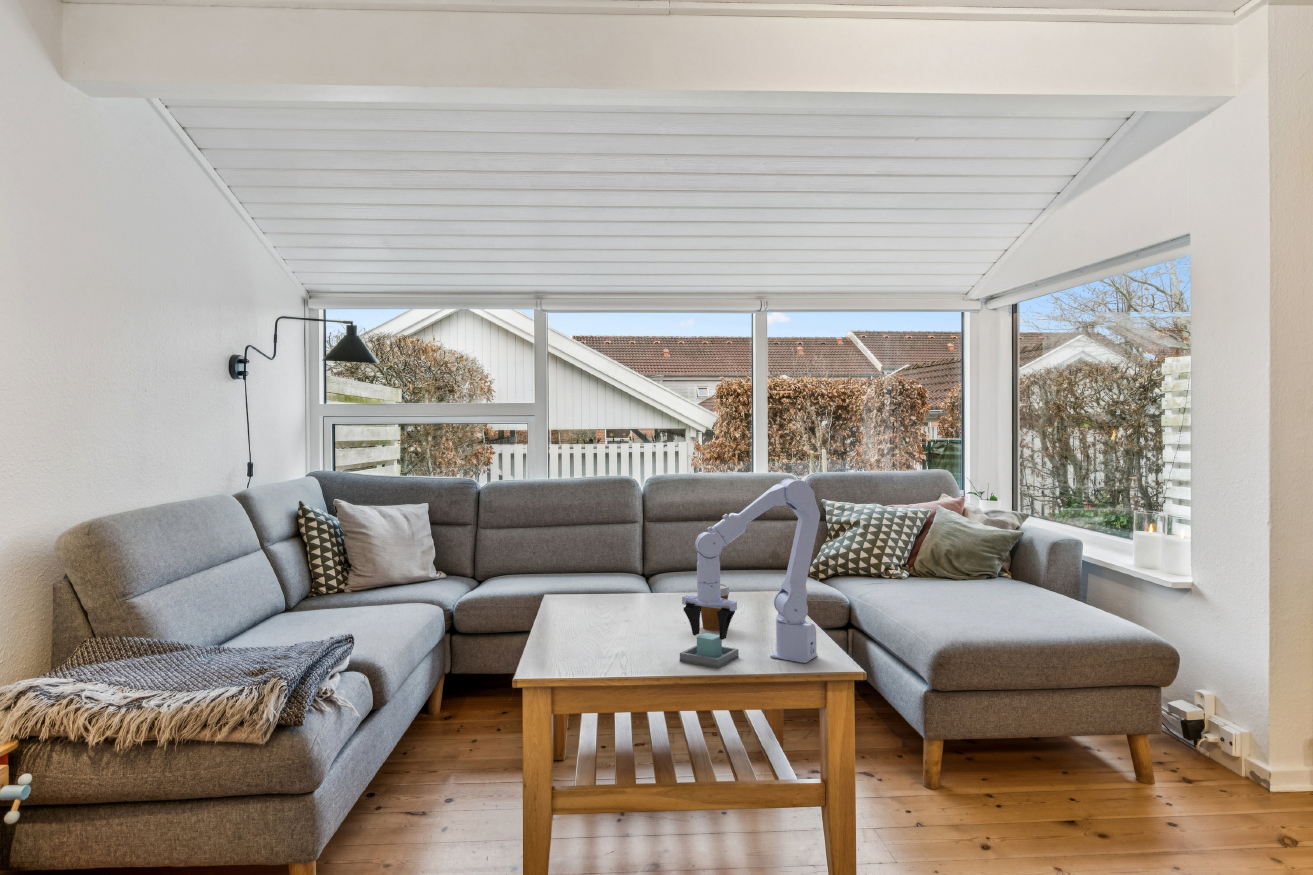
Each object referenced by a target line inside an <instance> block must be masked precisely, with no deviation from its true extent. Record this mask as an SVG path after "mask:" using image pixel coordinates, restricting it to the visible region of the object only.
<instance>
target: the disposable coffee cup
mask: <svg viewBox="0 0 1313 875" xmlns="http://www.w3.org/2000/svg"><path fill="white" fill-rule="evenodd" d="M730 592H731V590H730V587H729V584H725V583H720V597H721V598H722V599H726V600H729V594H730ZM720 610H721V609H719V608H712V607H704V606H702V607H701V613H700V618H701V622H702V624H701V625H702V628H703V629H704V630H706V629H707V631H719V621H718V616H717V611H720Z"/></svg>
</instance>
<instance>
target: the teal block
mask: <svg viewBox="0 0 1313 875" xmlns="http://www.w3.org/2000/svg"><path fill="white" fill-rule="evenodd" d="M722 643H723V640H721V639H720V636H719V634H714V633H707V632H705V633H703V634H701V635H698V636H697V637H696V645H697V655H700V656H705V657H710V658H718V657H720V656H722V645H723V644H722Z"/></svg>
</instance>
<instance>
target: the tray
mask: <svg viewBox="0 0 1313 875" xmlns="http://www.w3.org/2000/svg"><path fill="white" fill-rule="evenodd" d="M738 658H739V649H738V648H733V647H727V646H722V656H720V657H718V658H710V657H705V656H700V655H697V644H696V645H693V646H692V647H690V648H688V649H686V650H683V651H681V652H679V662H682V663H687V664H693V665H697V666H703V667H707V668H713V669H719V668H721V667H723V666H725V665H727V664H729V663H730V662H733V661H734V660H736V659H738Z"/></svg>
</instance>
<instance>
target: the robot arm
mask: <svg viewBox="0 0 1313 875" xmlns="http://www.w3.org/2000/svg"><path fill="white" fill-rule="evenodd" d="M815 496H816V495H815V491H814V490H813V488H812V487H811V486H810V485H809V484H808V483H807V482H806V481H804V480H800V479H794V478H790V477H788V478H785V479H783V480H781V481H780V482H779V483H776V484H774V485H772V486H771V487H770V488H768V489H767V490H766V491H765V492H764V493H762V494H761V495H760V496H759V497H758V498H756V499H755V500H753V501H752V502H751V503H750V504H749V505H747V506H746V507H745V508H743V510H741V511H740V512H739V513H735V512H730V513H729V514H727V513H725V514H723V515H722V516H721V517H722V519H721V520H720V521H718V522H717V523H716V524H714V525H713V526H709V527H707V531H703V532H701V533H700V534H698V536H697V537H696V539H695V542H694V548H695V549H696V551H697V555H696V556H697V557H696V559H697V562H696V588H697V589H696V592H697V594H696V595H683V596H682V597H681V604H682V605H685V606H684V607H683V612H684V613H685V615H686V617H687V620H688V622H689V625H690V628H691V632H692V635H693V636H697V635H699V634H700V632H701V626H700V624H701V622H700V621H701V620H700V618H701V607H702V606H704V607H712V608H719V609H721V610H720V611H717V616H718V621H719V630H718V631H719V633H718V635H719V636H720V639H721V640H722V641H723V640H725V639H727V635H728V631H729V627H730V624H731V621H732V619H733V617H734V615H735V613H736V611H737V610H738V602H737V601H735V600H729V599H728V600H726V599H722V598H721V597H720V584H721V562H720V555H721V553H722V551H723V547H727V546H728V545H729V544H730V543H732V542H733V541H735V540H736V539H737V538H738V537H740V536H741V535H742V534H744V533H745V532H746V531H747V530H746V529H747V525H748V524H749V523H751V522H752V521H753V520H755V519H757V517H759V516H761V515H763V514H764V513H766V512H767V511H768V510H770V509H771V508H772V507H779V506H781V507H782V506H788V507H790V509H791V511H793V513H794V515H796V517H797V523H796V527H795V532H794V536H793V537H794V538H793V542H792V545H791V546H792V547H791V551H790V555H789V561H788V565H787V570H786V575H785V578H784V580H783V581H782V583H781V585H780V587H779V588H780V589H779V591H778V593H776V594H775V597H774V600H773V605H774V609H775V610H776V611H777V612H778V613H777V615H776V618H775V628H776V629H775V631H776V632H775V633H776V634H775V635H776V639H775V640H776V642H775V643H776V651H775V652H773V653H771V654H770V655H769V657H770V658H775V659H778V660H779V659H780V660H785V661H791V662H797V663H803V664H807V663H809V662H810V661H811V660H812V659H815V658H816V657H817V656H818V653H817V628H816V625H815V624H814V623H811V622H808V621H807V619H806V617H807V616H808V614H809V607H808V603H807V602H808V600H807V599H808V589H807V585H806V584H807V581H808V576H809V571H810V567H811V562H812V557H813V552H814V547H815V543H816V538H817V533H818V530H819V523H820V518H821V513H820V510H819V507H818V503H817V499H816V498H815Z"/></svg>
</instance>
